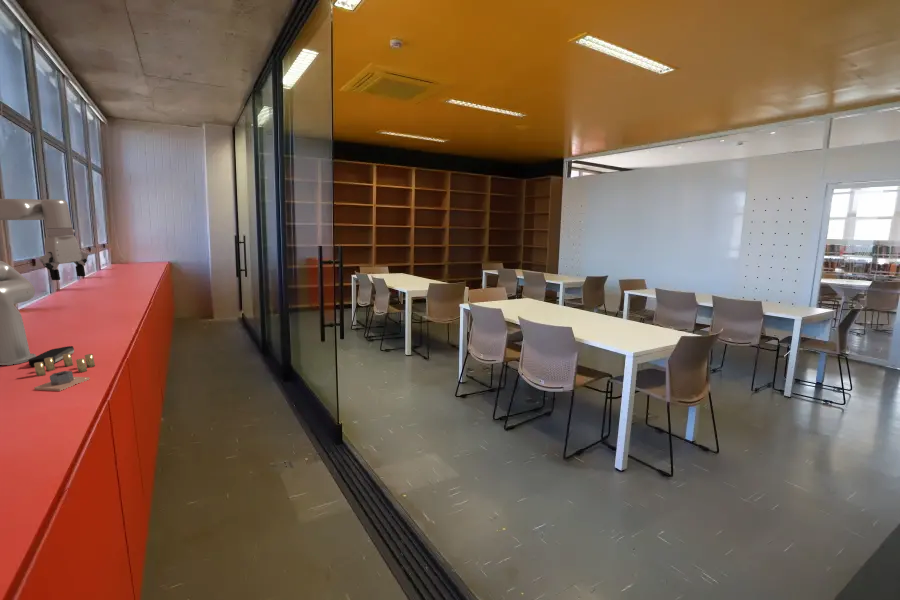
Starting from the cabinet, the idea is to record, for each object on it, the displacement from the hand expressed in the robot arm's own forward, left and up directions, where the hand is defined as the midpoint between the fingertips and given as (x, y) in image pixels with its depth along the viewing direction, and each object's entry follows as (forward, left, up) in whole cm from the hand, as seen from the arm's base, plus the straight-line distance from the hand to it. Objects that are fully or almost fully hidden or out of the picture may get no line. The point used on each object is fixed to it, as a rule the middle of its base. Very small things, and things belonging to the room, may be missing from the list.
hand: (69, 278), depth 170 cm
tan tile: (+20, -25, -32) cm, 45 cm away
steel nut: (+20, -25, -32) cm, 45 cm away
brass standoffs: (+7, -13, -32) cm, 36 cm away
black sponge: (-11, -3, -33) cm, 35 cm away
